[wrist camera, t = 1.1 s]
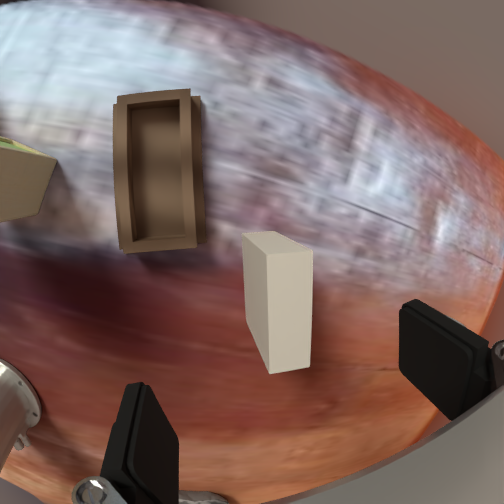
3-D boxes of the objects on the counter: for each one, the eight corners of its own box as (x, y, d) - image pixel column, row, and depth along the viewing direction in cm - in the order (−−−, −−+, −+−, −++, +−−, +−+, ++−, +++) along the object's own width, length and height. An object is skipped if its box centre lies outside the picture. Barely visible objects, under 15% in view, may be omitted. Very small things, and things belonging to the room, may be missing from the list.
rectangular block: (282, 316, 35) (317, 365, 24) (246, 321, 34) (269, 374, 24) (280, 230, 33) (322, 249, 22) (241, 233, 32) (266, 254, 22)
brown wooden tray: (206, 240, 32) (207, 246, 28) (121, 247, 30) (113, 254, 27) (200, 98, 29) (201, 88, 25) (115, 106, 27) (107, 97, 24)
